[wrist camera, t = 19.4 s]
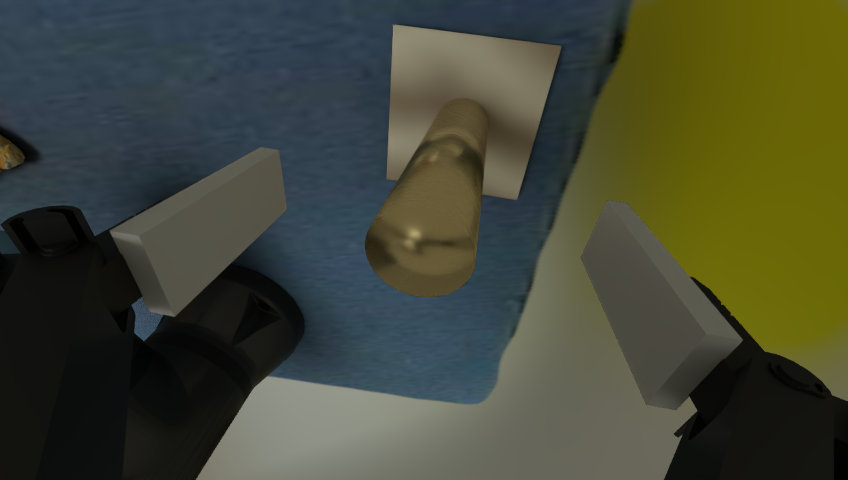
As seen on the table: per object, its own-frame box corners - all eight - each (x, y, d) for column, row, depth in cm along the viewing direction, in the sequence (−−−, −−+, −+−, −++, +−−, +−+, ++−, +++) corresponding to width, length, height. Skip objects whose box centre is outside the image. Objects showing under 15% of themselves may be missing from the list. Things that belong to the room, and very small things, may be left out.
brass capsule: (476, 160, 26) (452, 310, 13) (428, 142, 26) (356, 275, 13) (497, 109, 24) (494, 232, 11) (445, 90, 23) (377, 189, 11)
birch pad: (515, 194, 28) (516, 199, 27) (389, 174, 29) (386, 178, 28) (558, 45, 22) (561, 46, 21) (396, 24, 23) (393, 24, 22)
